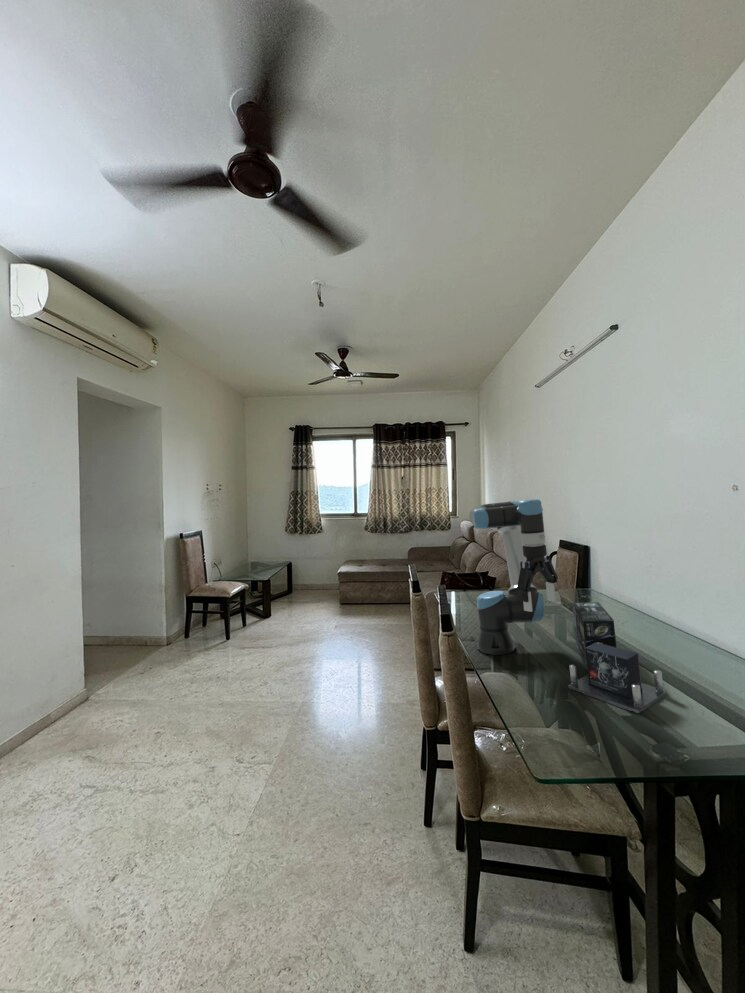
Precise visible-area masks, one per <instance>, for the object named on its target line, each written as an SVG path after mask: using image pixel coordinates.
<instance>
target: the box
mask: <svg viewBox="0 0 745 993" xmlns="http://www.w3.org/2000/svg"><path fill="white" fill-rule="evenodd" d="M571 604H572V605H571V606H572V615H573V616H572V618H573V624H574V625H573V626H574V633H575V634H574V636H575V645H576V650H577V652H578V654H579V656H580V658H581V660H582V662H583V665H584V666H585V669H586V670H587V672H588V669H587V660H586V652H585V648H586V647H588V646H590V645H592V644H594V643H596V642H597V643H601V644H605V645H609V646H612V647H616V648H618V647H617V638H616V630H615V621H614V620H615V619H614V618H613V617H612V616H611V615H610V614H609V613H608V611H606V609H605V608H604V607H603V605H602V604H601V603H600V602H598V601H596V602H595V601H593V602H589V601H588V602H587V601H586V602H585V601H583V602H572V603H571Z"/></svg>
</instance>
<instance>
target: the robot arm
mask: <svg viewBox="0 0 745 993" xmlns="http://www.w3.org/2000/svg"><path fill="white" fill-rule="evenodd" d="M543 511H544V510H543V506H542V502H541V500H540V499H538V498H537V499H523V500H519V501H518V500H517V501H511V500H509V501H504V502H502V501H501V502H495V503H486V504H481V505H478V506H476V507H474V508H473V509H472V510H470V513H469V521H470V522H471V525H472V526H473V527H474V528H475V529H477V530H479V529H480V530H483V529H497V533H499V534H500V535H501V536H502V542H503V547H504V553H505V559H506V560H505V561H506V564H507V569H508V577H509V582H510V587H509V588H508V590H507V591H508V594H505V592H504V591H502V590H491V591H487V592H484V593H481V594H479V595H478V597H477V598H476V609H477V615H478V616H477V617H478V627H479V632H478V637H477V643H476V646H477V647H478V648H477V647H476V648H477V650H478V649H479V650H480V651H481V652H480V651H479V650H478V651H479V652H480V653H483V654H486V655H491V656H501V655H502V656H503V655H506V654H507V655H508V654H511V653H513V652H514V651H515V649H516V646H515V642H514V640H513V639H512V636H511V633H510V631H509V625H508V624H519V623H521V624H522V623H536V622H541V621H542V620H543V618H544V615H545V602H544V596H543V593H542V592H539V591H538V589H537V587H536V586H535V585H533V579H534V577H535V575H536V574H537V573H539V572H540V573H541V575H542V577H544V579H545V580H546V582H545V588H546V589H545V590H546V591H545V592H546V600H547V602H552V603H556V601H557V600H556V588H555V587H556V586H555V584H556V583H558V579H559V578H558V574H557V572H556V569H555V568H554V565H553V563H552V559H551V556H550V554H548V552H547V545H546V544H545V543H546V534H545V526H544V525H545V524H544V523H545V522H544V514H543Z"/></svg>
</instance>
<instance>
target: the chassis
mask: <svg viewBox="0 0 745 993" xmlns="http://www.w3.org/2000/svg"><path fill="white" fill-rule="evenodd" d="M568 668H569V676H570V684H568V689H569V690H571V689H574V690H578V691H581V692H584V693H585V694H587V695H586V696H588V695H589V696H588V697H590V696H591V698H593V697H595V698H594V699H596V698H598V699H597V700H599V699H600V700H599V701H602V702H604V703H608V704H611V705H613V706H615V707H618V708H620V709H624V710H626V711H629V712H631V711H634V712H637V713H640V712H641V711H643V710H644V711H646V710H647V709H648V708H650V707H651V706H652V705H654V704H655V703H656V702H658V701H660V699H662V698H664V697H665V696H667V695H668V690H667V689H664V680H663V673H662V671H661V670H659V669H657V670H653V677H654V686H653V685H650V684H646V683H642V682H641V686H642V687H641V688H642V692H641V691H640V685H638V684H632V693H633V698H632V699H630V698H627V697H625V696H622V695H619V694H616V693H613V692H610V691H607V690H604V689H602V688H599V687H596V686H593V685H590V684H589V678H588V674H586V675H585V676H583V677H581V678H578V672H577V665H575V664H569V666H568ZM574 690H573V691H574ZM585 694H584V695H585ZM644 711H643V712H644ZM634 712H633V713H634ZM637 713H636V714H637ZM641 713H642V712H641ZM641 713H640V714H641Z"/></svg>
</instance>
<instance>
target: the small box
mask: <svg viewBox="0 0 745 993" xmlns="http://www.w3.org/2000/svg"><path fill="white" fill-rule="evenodd" d="M585 652H586V660H587V669H588V671H587V675H588V678H589V684H590V685H593V686H596V687H599V688H602V689H604V690H607V691H610V692H613V693H616V694H619V695H622V696H625V697H627V698H630V699H632V698H633V693H632V684H638V685H640V691H641V692H642V688H641V687H642V686H641V683H642V680H641V673H640V671H641V670H640V661H639V653H638V652H635V651H631V650H627V649H624V648H619V647H617V648H616V647H612V646H609V645H605V644H601V643H597V642H596V643H594V644H592V645H590V646H588V647H586V648H585ZM587 669H586V670H587Z"/></svg>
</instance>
